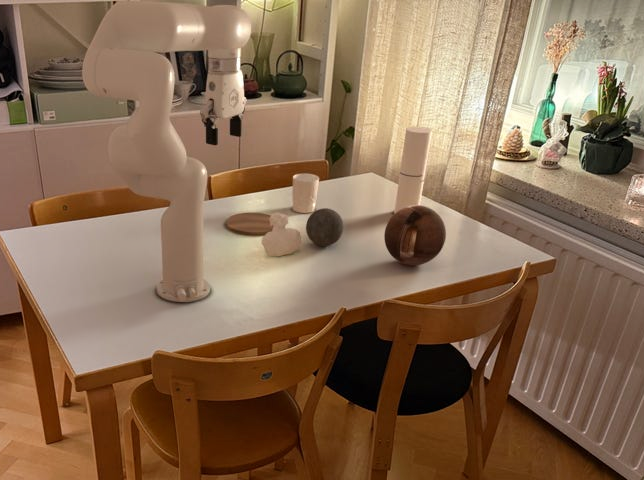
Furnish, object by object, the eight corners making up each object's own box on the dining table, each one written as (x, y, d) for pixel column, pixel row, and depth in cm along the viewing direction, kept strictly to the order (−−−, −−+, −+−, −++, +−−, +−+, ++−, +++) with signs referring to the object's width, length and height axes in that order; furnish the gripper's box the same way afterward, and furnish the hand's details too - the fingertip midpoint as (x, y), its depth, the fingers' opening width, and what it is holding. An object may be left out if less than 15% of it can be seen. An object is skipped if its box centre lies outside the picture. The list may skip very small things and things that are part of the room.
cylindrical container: (389, 211, 213) (401, 128, 200) (408, 208, 216) (421, 125, 202) (403, 219, 207) (416, 133, 194) (423, 216, 210) (437, 131, 197)
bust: (297, 254, 189) (285, 215, 190) (311, 246, 183) (298, 205, 183) (259, 263, 184) (247, 223, 185) (272, 255, 178) (259, 213, 178)
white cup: (286, 206, 216) (288, 174, 211) (310, 204, 218) (312, 172, 213) (296, 215, 210) (298, 182, 204) (320, 212, 212) (323, 180, 206)
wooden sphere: (403, 247, 189) (411, 193, 181) (451, 264, 180) (462, 208, 172) (369, 261, 181) (376, 205, 173) (418, 280, 171) (428, 222, 163)
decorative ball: (348, 248, 188) (352, 212, 183) (317, 254, 184) (321, 218, 179) (327, 235, 196) (331, 201, 191) (297, 241, 192) (300, 206, 187)
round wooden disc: (286, 234, 197) (286, 230, 196) (230, 237, 194) (230, 233, 194) (274, 214, 210) (274, 211, 209) (221, 217, 208) (221, 213, 207)
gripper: (214, 72, 153) (214, 150, 162) (258, 61, 165) (256, 135, 174) (188, 68, 157) (189, 145, 166) (233, 58, 169) (232, 130, 178)
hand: (223, 140), depth 170 cm, fingers open, 9 cm apart
